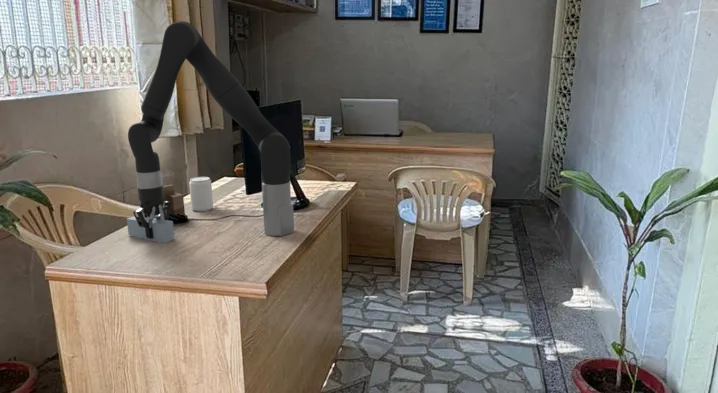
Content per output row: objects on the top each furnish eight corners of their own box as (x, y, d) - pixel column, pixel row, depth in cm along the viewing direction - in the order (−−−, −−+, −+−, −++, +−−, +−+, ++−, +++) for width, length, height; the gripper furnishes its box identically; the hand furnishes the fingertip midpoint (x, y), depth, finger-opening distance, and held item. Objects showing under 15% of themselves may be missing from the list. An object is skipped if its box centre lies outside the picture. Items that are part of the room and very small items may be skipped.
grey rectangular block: (174, 239, 172) (172, 221, 170) (165, 242, 168) (163, 224, 167) (138, 232, 178) (136, 215, 177) (128, 236, 175) (126, 218, 173)
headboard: (185, 218, 193) (182, 186, 190) (150, 227, 183) (146, 193, 180) (176, 215, 197) (173, 184, 194) (141, 224, 187) (138, 191, 184)
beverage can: (209, 211, 201) (207, 181, 198) (188, 212, 202) (185, 181, 198) (215, 206, 209) (213, 176, 206) (195, 206, 209) (192, 176, 206)
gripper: (158, 179, 176) (163, 228, 180) (123, 188, 163) (129, 241, 168) (175, 181, 173) (180, 231, 177) (141, 191, 160) (147, 244, 165)
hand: (155, 235), depth 172 cm, fingers closed on grey rectangular block, 4 cm apart
